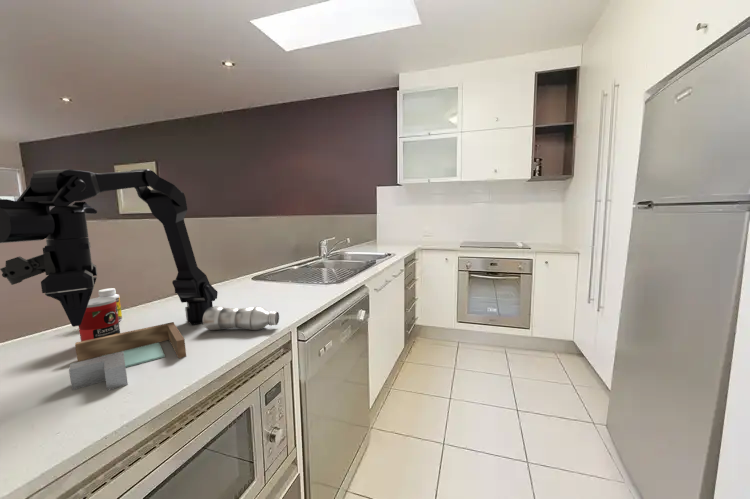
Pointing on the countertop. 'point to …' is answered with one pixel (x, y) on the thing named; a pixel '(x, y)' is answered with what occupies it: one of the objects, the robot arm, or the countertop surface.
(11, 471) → the countertop surface
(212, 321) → the plastic bottle
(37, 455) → the countertop surface
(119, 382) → the bracket
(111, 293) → the supplement bottle
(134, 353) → the pad
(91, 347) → the wooden corner wall
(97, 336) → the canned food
